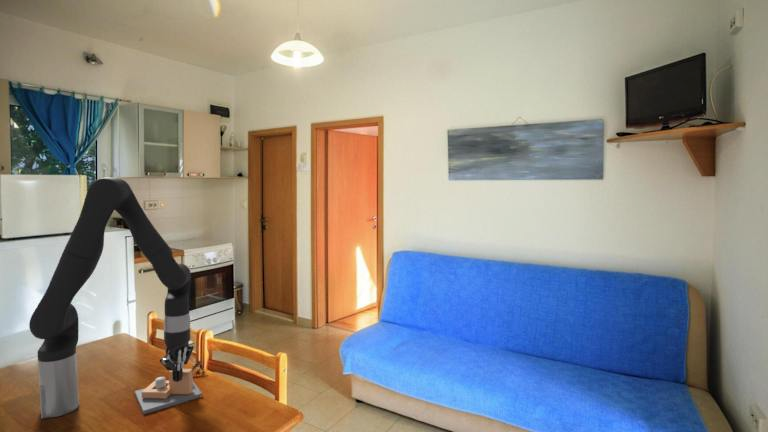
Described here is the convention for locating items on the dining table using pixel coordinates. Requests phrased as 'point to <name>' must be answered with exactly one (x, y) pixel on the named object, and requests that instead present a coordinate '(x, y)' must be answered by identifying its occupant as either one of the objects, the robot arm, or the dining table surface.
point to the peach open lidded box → (171, 386)
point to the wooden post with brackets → (197, 366)
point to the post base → (160, 403)
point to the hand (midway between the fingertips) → (177, 380)
